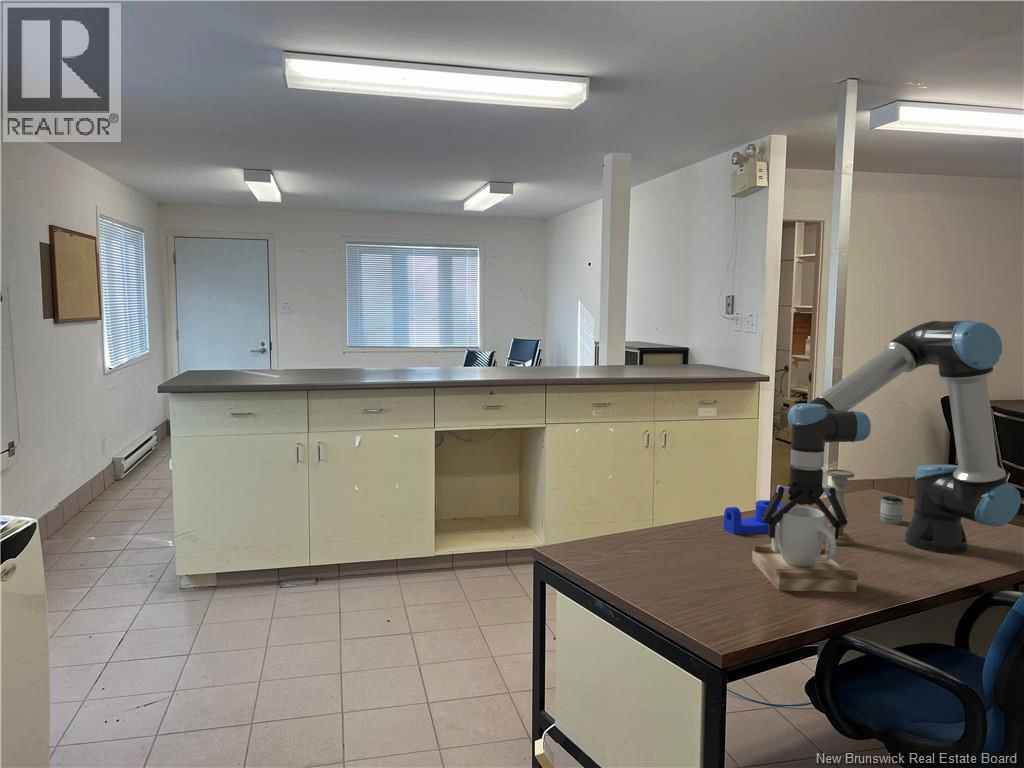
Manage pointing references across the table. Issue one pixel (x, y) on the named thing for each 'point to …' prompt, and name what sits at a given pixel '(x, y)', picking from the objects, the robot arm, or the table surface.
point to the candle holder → (840, 502)
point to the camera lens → (891, 510)
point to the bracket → (747, 520)
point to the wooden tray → (803, 572)
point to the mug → (803, 536)
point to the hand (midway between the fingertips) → (802, 551)
